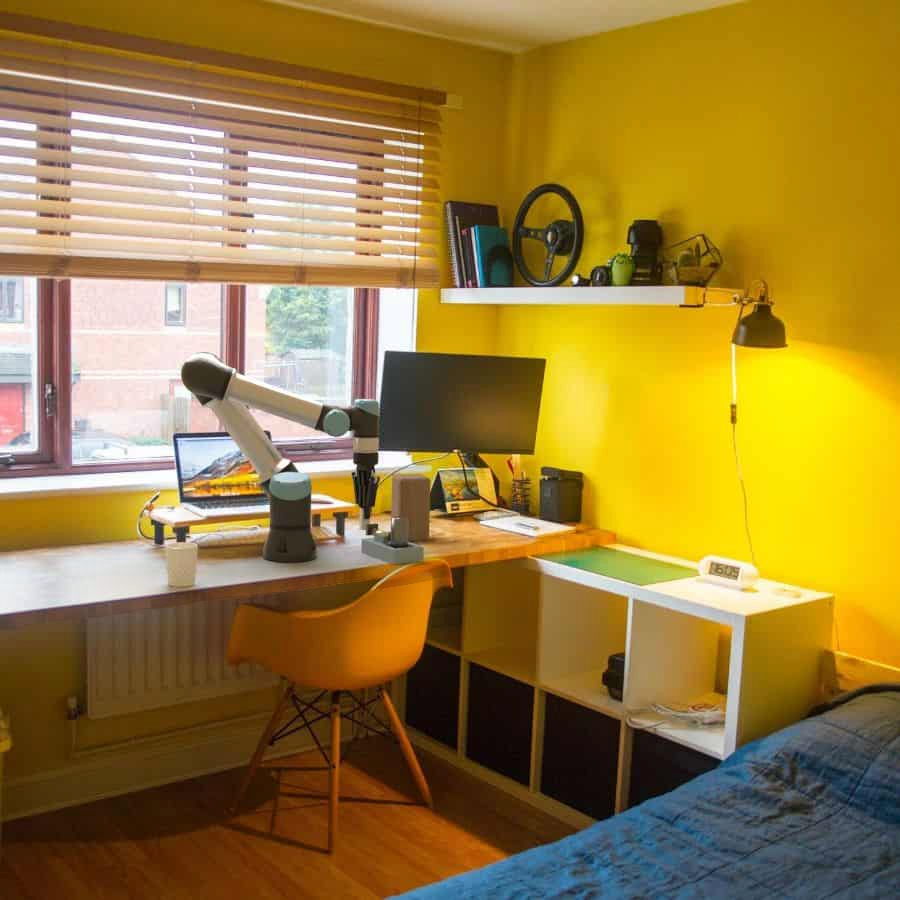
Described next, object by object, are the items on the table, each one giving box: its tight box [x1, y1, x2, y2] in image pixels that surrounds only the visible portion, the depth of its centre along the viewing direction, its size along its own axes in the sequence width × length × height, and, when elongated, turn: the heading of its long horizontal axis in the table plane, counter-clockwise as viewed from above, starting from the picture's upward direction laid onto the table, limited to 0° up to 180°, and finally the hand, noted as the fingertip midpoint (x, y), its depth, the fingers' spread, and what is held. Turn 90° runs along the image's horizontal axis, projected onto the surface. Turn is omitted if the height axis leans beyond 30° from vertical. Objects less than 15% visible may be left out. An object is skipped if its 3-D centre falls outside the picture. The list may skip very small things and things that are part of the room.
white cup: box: [165, 541, 198, 588], centre depth 277 cm, size 8×8×10 cm
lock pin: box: [365, 522, 390, 540], centre depth 322 cm, size 4×9×3 cm, turn 34°
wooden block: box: [390, 473, 431, 543], centre depth 340 cm, size 10×10×20 cm
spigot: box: [390, 516, 409, 549], centre depth 312 cm, size 5×5×12 cm
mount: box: [360, 531, 425, 565], centre depth 316 cm, size 10×18×6 cm, turn 34°
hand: (364, 529), depth 328 cm, fingers closed
